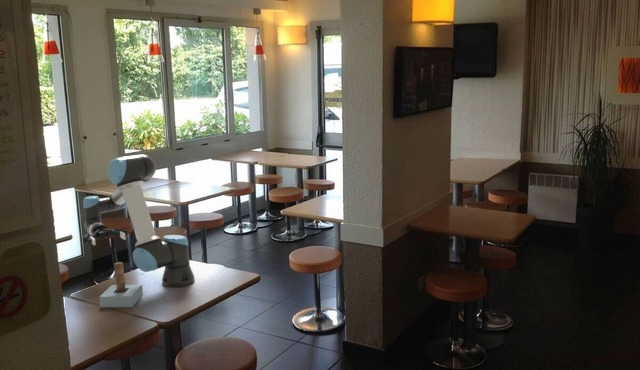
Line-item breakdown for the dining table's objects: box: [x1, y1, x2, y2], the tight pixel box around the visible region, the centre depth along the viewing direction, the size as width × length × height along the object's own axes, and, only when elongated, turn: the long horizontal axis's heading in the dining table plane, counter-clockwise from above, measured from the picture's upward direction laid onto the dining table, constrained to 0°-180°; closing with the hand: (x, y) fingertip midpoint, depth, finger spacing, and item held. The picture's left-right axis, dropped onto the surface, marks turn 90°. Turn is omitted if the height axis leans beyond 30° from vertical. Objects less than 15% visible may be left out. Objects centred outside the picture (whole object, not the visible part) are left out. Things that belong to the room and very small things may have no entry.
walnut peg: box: [114, 261, 126, 293], centre depth 254 cm, size 4×4×17 cm
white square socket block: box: [98, 284, 144, 308], centre depth 255 cm, size 14×14×5 cm
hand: (109, 239), depth 266 cm, fingers open, 13 cm apart
